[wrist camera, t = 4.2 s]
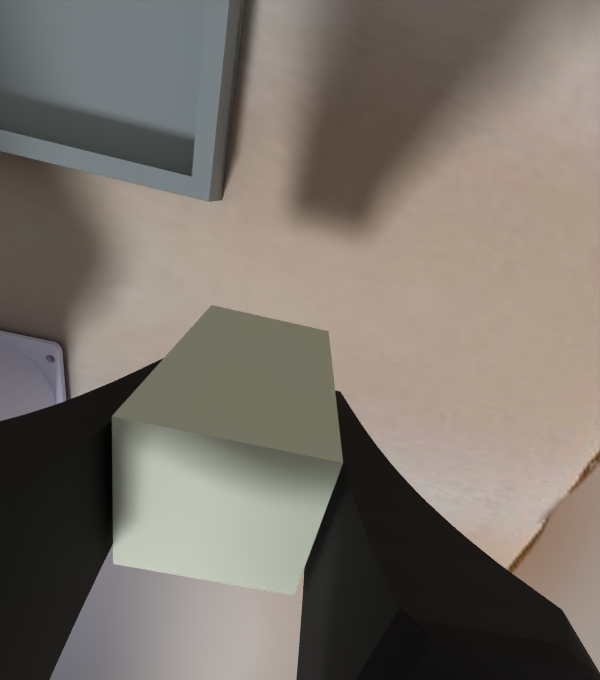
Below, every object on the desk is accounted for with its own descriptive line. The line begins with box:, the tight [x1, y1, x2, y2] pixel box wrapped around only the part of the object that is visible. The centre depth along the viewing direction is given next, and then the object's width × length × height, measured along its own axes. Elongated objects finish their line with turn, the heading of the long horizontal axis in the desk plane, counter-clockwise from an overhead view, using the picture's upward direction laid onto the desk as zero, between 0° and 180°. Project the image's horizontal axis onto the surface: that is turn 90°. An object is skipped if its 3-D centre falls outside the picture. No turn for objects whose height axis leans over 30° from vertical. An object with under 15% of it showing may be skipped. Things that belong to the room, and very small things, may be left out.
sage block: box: [112, 305, 343, 595], centre depth 9 cm, size 4×4×6 cm
